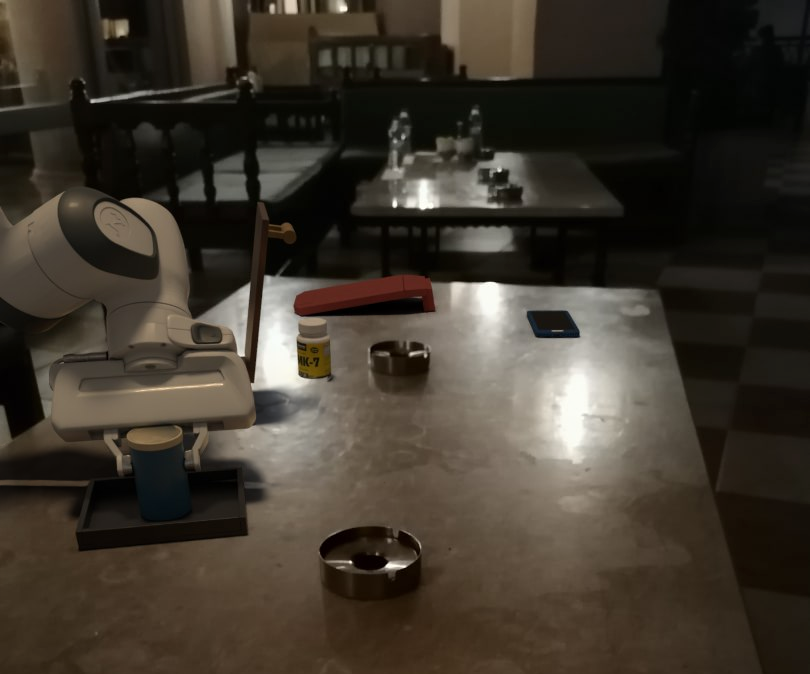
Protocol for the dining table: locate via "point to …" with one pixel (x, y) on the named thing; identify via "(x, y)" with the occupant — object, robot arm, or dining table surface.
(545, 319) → the cell phone
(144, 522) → the tray
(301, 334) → the supplement bottle
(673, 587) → the dining table surface
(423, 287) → the red ramp
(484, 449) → the dining table surface
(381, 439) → the dining table surface
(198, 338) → the robot arm
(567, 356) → the dining table surface
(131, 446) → the canister
